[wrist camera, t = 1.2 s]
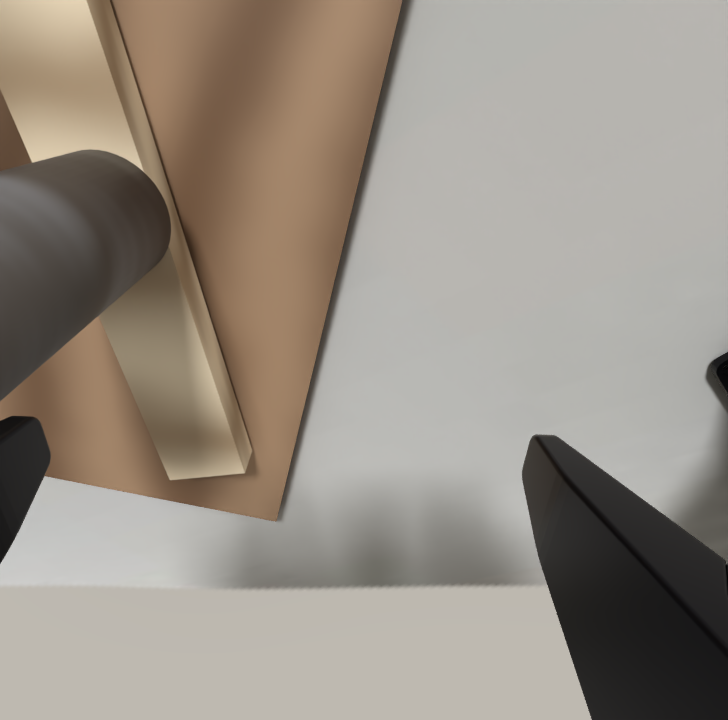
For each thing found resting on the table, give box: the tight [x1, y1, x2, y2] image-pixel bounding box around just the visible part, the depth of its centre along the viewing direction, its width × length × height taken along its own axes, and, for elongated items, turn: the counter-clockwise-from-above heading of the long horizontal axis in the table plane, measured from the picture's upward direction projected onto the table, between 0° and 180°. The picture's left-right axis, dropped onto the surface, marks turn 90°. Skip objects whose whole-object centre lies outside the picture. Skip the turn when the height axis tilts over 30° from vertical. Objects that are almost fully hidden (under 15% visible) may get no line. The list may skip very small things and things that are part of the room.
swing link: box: [0, 0, 252, 480], centre depth 14 cm, size 24×5×12 cm, turn 8°
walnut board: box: [0, 0, 402, 521], centre depth 20 cm, size 24×28×1 cm
